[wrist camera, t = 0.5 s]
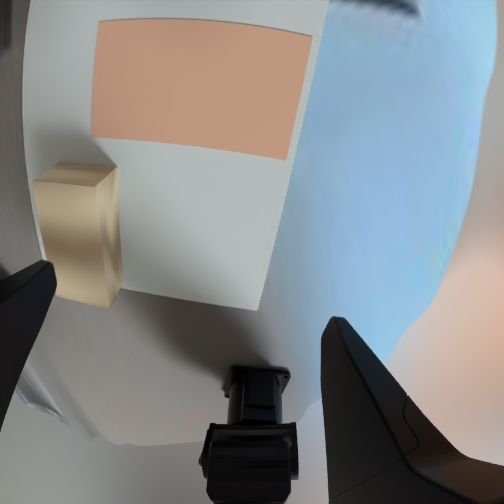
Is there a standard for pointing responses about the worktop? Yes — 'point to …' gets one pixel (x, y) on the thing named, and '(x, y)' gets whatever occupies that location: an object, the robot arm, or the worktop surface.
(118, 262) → the beige wooden block
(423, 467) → the robot arm
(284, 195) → the mat
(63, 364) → the worktop surface
